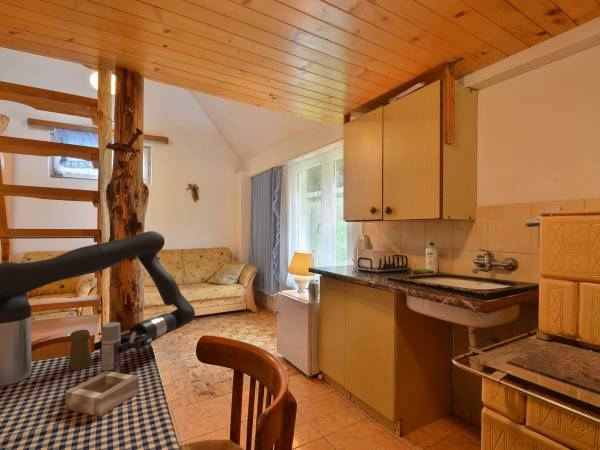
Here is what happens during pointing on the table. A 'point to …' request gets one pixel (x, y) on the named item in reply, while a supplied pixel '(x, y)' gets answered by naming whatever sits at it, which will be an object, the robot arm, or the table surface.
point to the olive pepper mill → (79, 350)
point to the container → (111, 347)
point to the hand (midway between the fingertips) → (105, 349)
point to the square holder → (92, 398)
